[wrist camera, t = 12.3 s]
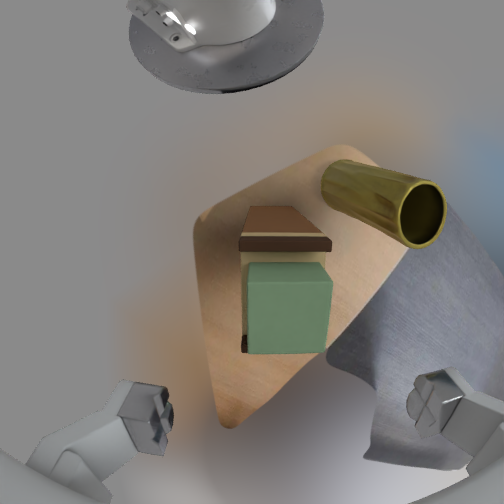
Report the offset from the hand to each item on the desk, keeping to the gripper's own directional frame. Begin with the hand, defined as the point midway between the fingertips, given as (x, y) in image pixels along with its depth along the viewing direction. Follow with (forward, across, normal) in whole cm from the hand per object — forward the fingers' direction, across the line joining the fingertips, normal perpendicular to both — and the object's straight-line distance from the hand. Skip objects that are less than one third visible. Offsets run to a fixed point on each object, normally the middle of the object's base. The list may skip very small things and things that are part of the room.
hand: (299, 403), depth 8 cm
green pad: (+9, 0, 0) cm, 9 cm away
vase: (+26, -9, -6) cm, 28 cm away
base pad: (+26, 0, 0) cm, 26 cm away
